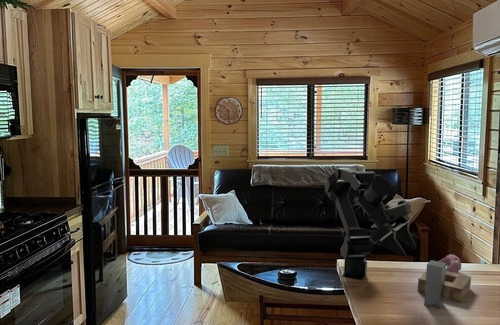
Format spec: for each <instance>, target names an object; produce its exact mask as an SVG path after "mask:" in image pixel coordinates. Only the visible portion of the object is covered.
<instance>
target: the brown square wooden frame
mask: <svg viewBox="0 0 500 325" xmlns="http://www.w3.org/2000/svg"><path fill="white" fill-rule="evenodd" d="M417 280H418V282H417V292H419V293H422V294H425V286H426V271H425V272H424V273H422V274H421V276H419V278H418V279H417ZM471 282H472V275H471V276H470V275H466V274H463V273H462V274H461V273H458V272H456V273H453V272H449V271H446V272H445V285H444V299H445V300H449V301H452V302H453V301H454V302H457V303H460V304H461V303H462V301H463V300H464V298H466V296H467V294H468V293H469V291H470V290H471V284H472V283H471Z"/></svg>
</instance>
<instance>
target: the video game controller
mask: <svg viewBox="0 0 500 325" xmlns="http://www.w3.org/2000/svg"><path fill="white" fill-rule="evenodd" d="M438 262H442V263H446V271H449V272H453V273H458V272H459V271H460V270H462V263H461V259H460V258H459V257H458V256H457V255H455V254H451V253H450V254H448V255H446V256H445V257H444V258H442V259H440V260H439V261H438Z"/></svg>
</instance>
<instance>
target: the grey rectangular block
mask: <svg viewBox="0 0 500 325" xmlns="http://www.w3.org/2000/svg"><path fill="white" fill-rule="evenodd" d="M446 269H447V266H446V263H442V262H439V261H436V260H429V261H428V262H427V263H426V271H425V272H426V286H425V293H424V299H423V300H424V303H423V304H424V305H423V306H425V307H428V308H429V307H430V308H433V309H437V310H440V309H441V307H443V305H444V299H445V298H444V285H445V272H446Z"/></svg>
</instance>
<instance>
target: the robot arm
mask: <svg viewBox="0 0 500 325" xmlns="http://www.w3.org/2000/svg"><path fill="white" fill-rule="evenodd" d="M391 185H392V184H390V183H389V182H388V181H387V180H386V179H385V178H383V176H382V175H381V174H377V173H376V172H375V171H358V170H355V169H352V168H349V167H337V168H335V170H334V172H333V173H331V174H330V175H329V176H328V177H327V179H326V182H325V184H324V191H325V193H326V195H327V196H328V198H329V200H331V201H333V202H334V203H335V206H336V208H337V211H338V215H339V217H340V220H341V223H342V226H343V229H344V232H345V237H344V239H343V240H344V241H343V244H342V245H341V247H340V256H341V257H342V258H343V259H344V266H343V267H344V268H343V273H342V277H345V278H353V279H356V280H363V279H364V278H365V277H366V275H367V272H368V261H367V259H371V258H372V257H371V256H372V253H373V249H374V245H375V244H377V245H378V246H381V247H383V248H385V249H387V250H390V251H391V252H393V253H395V254H397V255H399V256H400V257H403V258H404V257H406V255H407V253H406V252H405V250H404V248H403V247H402V245H401V243H400V242H399V241H398V239H399V240H400V241H402V242H403V243H404V244H405V245H407V246H409V247H410V248H412V249H415V248H417V245H416V242H415V241H414V239H413V238H414V237H413V236H412V234H411V232H410V224H411V221H410V220H411V218H410V217H409V215H410V214H412V209H411V207H412V205H411V204H410V202H407V201H406V200H405V199H403V200H400V201H398V202H397V205H395V206H392V207H391V206H390V204H384V203H383V201H384V200H385V199H386V198H387V197H388V196H389V195H390V193H391V191H392V186H391ZM351 189H353V190H354V191H361V192H358V193H357V194H355V195H354V196H353V197H354V201H353V202H354V205H359V206H360V207H361V209H362V210H363V211H364V212H365V213H366V215H367V216H368V217H367V220H368V221H369V222H370V221H372V222H373V224H374V225H375V227H376V229H375V230H374V231H373V232H371V233H370V234H369V233H368V232H369V231H368V230H367V228H364V227H363V228H360V226H359V223H358V220H357V218H356V215H355V212H354V208H353V207H352V204H351V202H350V199H349V194H350V191H351Z"/></svg>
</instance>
